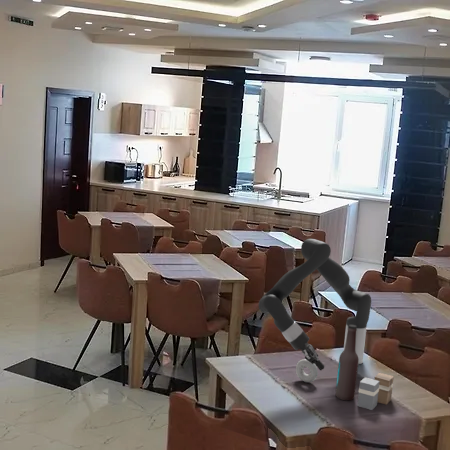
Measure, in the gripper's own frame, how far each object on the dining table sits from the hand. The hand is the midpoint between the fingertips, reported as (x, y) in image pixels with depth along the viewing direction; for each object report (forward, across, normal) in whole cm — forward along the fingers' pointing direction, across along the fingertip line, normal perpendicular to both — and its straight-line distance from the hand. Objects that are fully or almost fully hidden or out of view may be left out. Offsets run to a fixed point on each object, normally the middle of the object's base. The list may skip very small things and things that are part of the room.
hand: (322, 368), depth 274 cm
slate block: (+21, -5, -6) cm, 22 cm away
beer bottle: (+15, 0, +1) cm, 15 cm away
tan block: (+25, +2, -10) cm, 27 cm away
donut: (+3, +10, +12) cm, 16 cm away
